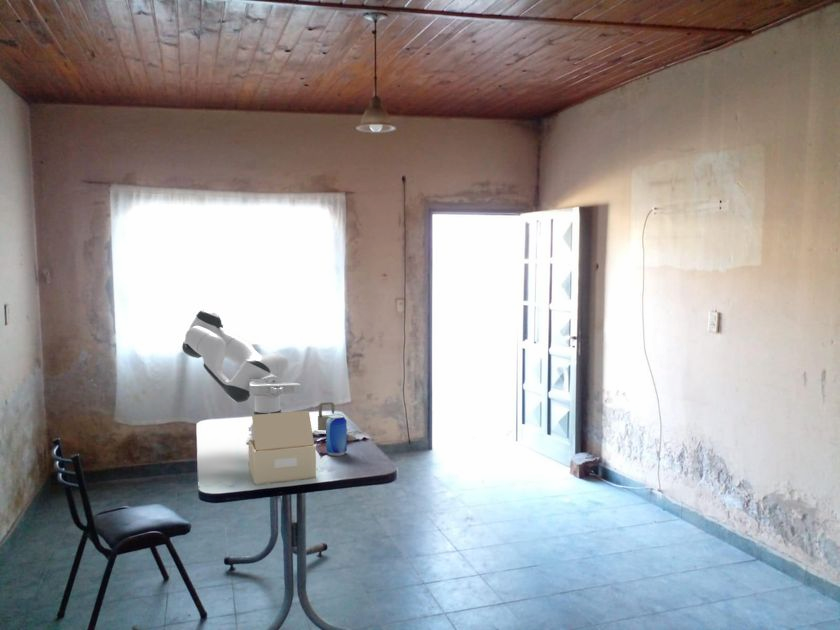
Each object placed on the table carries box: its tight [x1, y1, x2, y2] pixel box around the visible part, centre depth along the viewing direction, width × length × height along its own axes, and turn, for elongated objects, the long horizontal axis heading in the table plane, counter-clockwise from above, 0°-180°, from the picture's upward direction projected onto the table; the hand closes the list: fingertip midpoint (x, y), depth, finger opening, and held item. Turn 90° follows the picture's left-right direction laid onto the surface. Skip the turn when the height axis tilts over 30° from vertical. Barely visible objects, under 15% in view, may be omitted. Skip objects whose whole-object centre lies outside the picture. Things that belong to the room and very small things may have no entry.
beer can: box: [325, 413, 348, 457], centre depth 278 cm, size 8×8×16 cm
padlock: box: [317, 401, 336, 431], centre depth 312 cm, size 4×8×15 cm, turn 103°
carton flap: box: [251, 410, 315, 451], centre depth 245 cm, size 14×21×1 cm
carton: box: [248, 440, 317, 486], centre depth 250 cm, size 18×22×12 cm
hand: (278, 391), depth 255 cm, fingers closed
